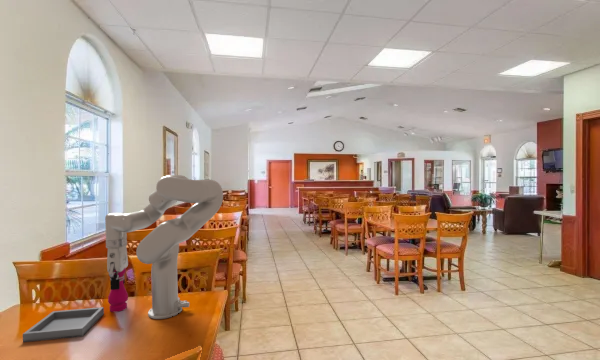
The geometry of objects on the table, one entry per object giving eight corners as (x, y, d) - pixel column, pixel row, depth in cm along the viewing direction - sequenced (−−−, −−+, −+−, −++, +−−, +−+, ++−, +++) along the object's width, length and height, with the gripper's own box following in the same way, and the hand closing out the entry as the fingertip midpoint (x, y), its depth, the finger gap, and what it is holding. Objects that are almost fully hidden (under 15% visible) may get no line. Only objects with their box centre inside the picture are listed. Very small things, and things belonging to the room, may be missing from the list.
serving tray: (103, 313, 129) (103, 307, 129) (82, 336, 111) (82, 328, 111) (53, 318, 126) (52, 311, 126) (22, 342, 108) (22, 334, 108)
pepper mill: (119, 313, 130) (118, 263, 129) (104, 312, 131) (102, 262, 130) (132, 305, 137) (130, 258, 136) (117, 304, 138) (116, 258, 138)
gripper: (118, 247, 125) (120, 293, 126) (133, 238, 142) (134, 279, 143) (97, 248, 124) (99, 295, 124) (114, 239, 141) (115, 280, 141)
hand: (117, 286), depth 134 cm, fingers closed on pepper mill, 5 cm apart
